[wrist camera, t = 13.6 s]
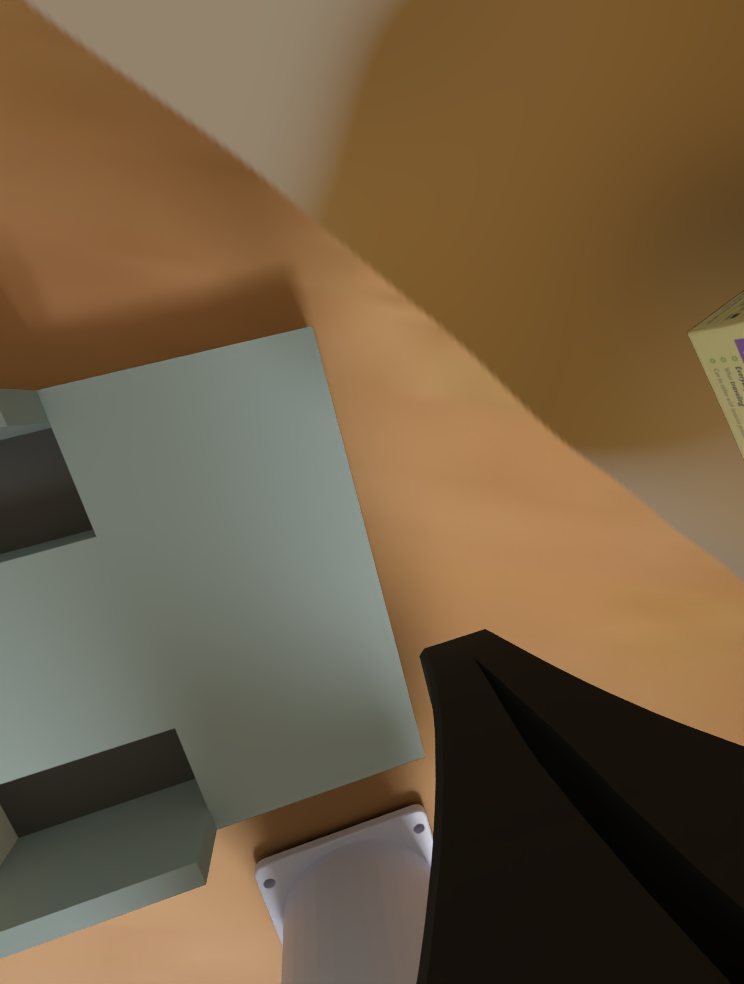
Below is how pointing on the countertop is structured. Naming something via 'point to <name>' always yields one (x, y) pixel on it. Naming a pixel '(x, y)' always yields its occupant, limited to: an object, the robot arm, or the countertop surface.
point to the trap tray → (178, 626)
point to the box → (724, 360)
